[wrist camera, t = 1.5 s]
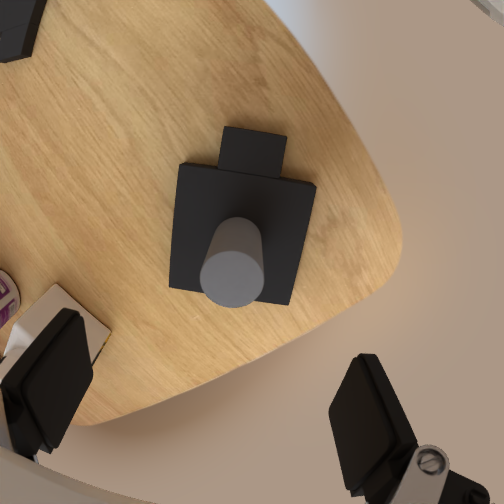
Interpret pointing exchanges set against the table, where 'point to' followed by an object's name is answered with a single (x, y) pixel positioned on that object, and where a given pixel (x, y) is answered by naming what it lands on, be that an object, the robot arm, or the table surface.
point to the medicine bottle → (39, 319)
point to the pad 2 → (240, 223)
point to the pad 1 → (18, 27)
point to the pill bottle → (8, 298)
